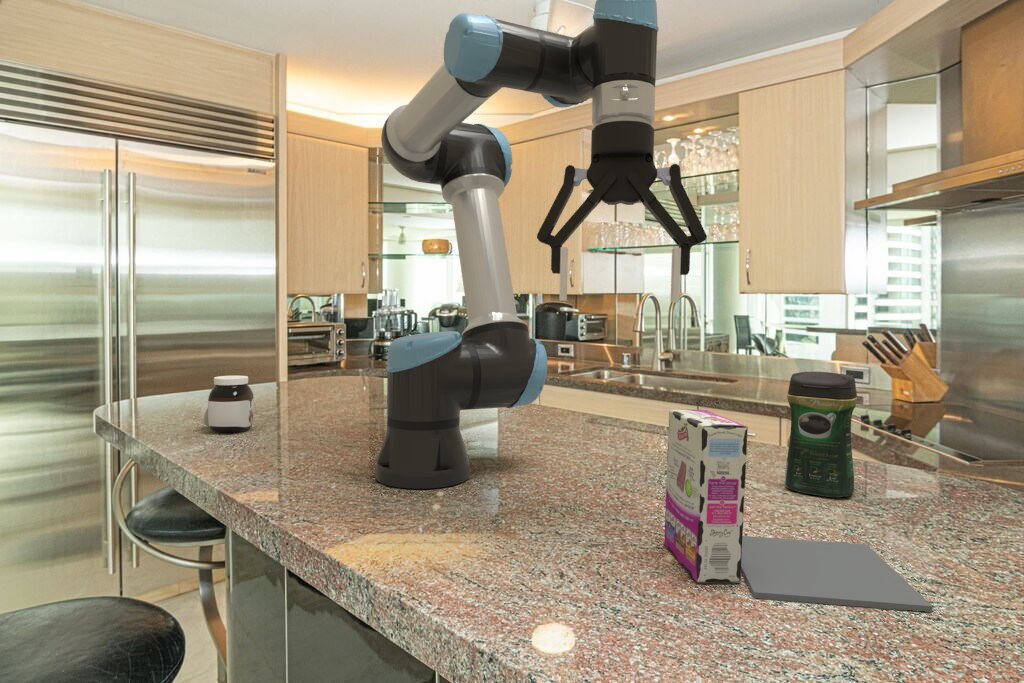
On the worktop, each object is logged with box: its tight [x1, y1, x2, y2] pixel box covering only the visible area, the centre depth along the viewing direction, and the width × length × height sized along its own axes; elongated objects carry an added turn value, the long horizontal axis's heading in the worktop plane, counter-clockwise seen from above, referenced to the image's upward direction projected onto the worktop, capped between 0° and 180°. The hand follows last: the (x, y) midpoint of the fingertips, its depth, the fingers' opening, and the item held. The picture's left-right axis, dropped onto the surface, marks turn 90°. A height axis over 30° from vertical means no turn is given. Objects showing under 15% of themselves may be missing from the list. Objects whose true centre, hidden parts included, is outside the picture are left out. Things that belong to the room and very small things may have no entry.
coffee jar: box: [784, 371, 858, 498], centre depth 100 cm, size 10×8×19 cm
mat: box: [741, 535, 934, 613], centre depth 70 cm, size 16×16×1 cm
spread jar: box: [199, 375, 255, 435], centre depth 141 cm, size 12×11×12 cm
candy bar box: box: [663, 409, 748, 584], centre depth 71 cm, size 11×5×16 cm, turn 5°
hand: (618, 301), depth 80 cm, fingers open, 13 cm apart
